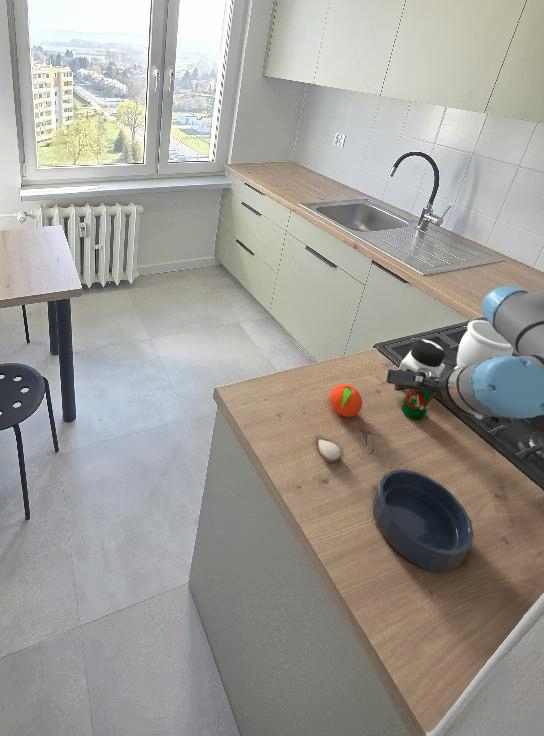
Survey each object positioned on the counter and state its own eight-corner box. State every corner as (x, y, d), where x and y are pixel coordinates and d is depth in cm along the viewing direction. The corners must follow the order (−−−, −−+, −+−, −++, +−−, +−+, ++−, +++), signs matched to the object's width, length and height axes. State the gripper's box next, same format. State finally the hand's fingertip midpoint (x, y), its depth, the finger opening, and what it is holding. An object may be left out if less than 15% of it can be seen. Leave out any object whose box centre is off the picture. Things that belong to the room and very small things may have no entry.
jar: (458, 358, 117) (477, 314, 110) (502, 381, 109) (525, 336, 103) (442, 374, 111) (461, 328, 105) (487, 399, 103) (510, 352, 97)
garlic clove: (328, 467, 85) (330, 459, 84) (310, 447, 89) (312, 438, 88) (343, 459, 86) (346, 451, 85) (325, 440, 91) (327, 432, 90)
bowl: (455, 510, 78) (465, 491, 76) (468, 592, 66) (480, 572, 64) (372, 476, 83) (379, 457, 81) (371, 545, 72) (379, 526, 69)
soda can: (417, 405, 101) (432, 366, 96) (429, 422, 96) (445, 383, 91) (396, 403, 101) (410, 365, 96) (406, 421, 96) (422, 382, 91)
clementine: (352, 432, 93) (360, 408, 90) (321, 415, 97) (328, 392, 94) (361, 409, 99) (369, 387, 96) (332, 394, 102) (338, 372, 100)
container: (426, 403, 101) (443, 362, 96) (392, 384, 106) (407, 344, 101) (436, 387, 106) (453, 347, 101) (404, 370, 111) (418, 331, 106)
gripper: (383, 385, 70) (364, 391, 88) (573, 449, 60) (507, 441, 79) (391, 342, 72) (371, 357, 91) (576, 396, 62) (511, 400, 81)
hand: (434, 396), depth 85 cm, fingers open, 13 cm apart
